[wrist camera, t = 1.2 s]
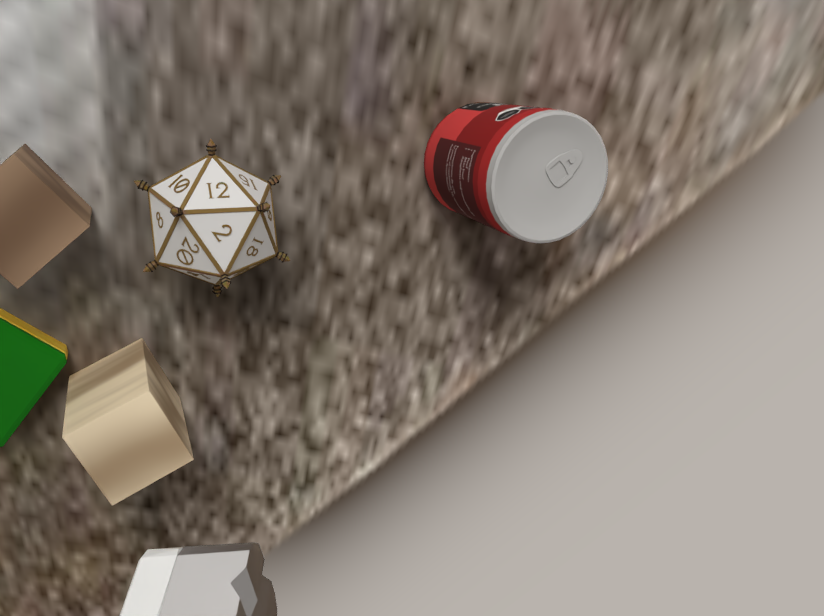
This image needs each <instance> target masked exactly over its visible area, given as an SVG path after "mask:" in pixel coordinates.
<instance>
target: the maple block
mask: <svg viewBox="0 0 824 616" xmlns="http://www.w3.org/2000/svg"><path fill="white" fill-rule="evenodd" d="M62 438H63V439H64V440H65V442H66V443H67V445H68V446H69V447H70V449H71V450H72V451H73V453H74V454H75V455H76V457H77V458H78V460H79V461H80V462H81V464H82V465H83V466H84V468H85V469H86V471H87V472H88V473H89V475H90V476H91V477H92V479H93V480H94V482H95V483H96V484H97V486H98V487H99V488H100V490H101V491H102V492H103V494H104V495H105V497H106V498H107V499H108V501H109V502H110V503H111V505H114V504H116V503H118V502H120V501H121V500H123V499H125V498H127V497H128V496H130V495H132V494H134V493H136V492H137V491H139V490H141V489H143V488H144V487H146V486H148V485H150V484H152V483H153V482H155V481H157V480H159V479H160V478H162V477H164V476H166V475H167V474H169V473H171V472H173V471H175V470H176V469H178V468H180V467H182V466H183V465H185V464H187V463H189V462H191V461H192V460H194V458H193V454H192V449H191V445H190V440H189V436H188V431H187V427H186V422H185V418H184V413H183V409H182V404H181V400H180V397H179V396H178V394H177V393H176V391H175V390H174V388H173V386H172V385H171V383H170V382H169V380H168V378H167V377H166V375H165V374H164V372H163V371H162V369H161V367H160V366H159V364H158V363H157V361H156V359H155V358H154V356H153V355H152V353H151V351H150V350H149V348H148V347H147V345H146V344H145V342H144V340H143V339H142V338H141V339H139V340H137V341H135V342H134V343H132V344H130V345H128V346H126V347H124V348H122V349H120V350H118V351H116V352H114V353H112V354H111V355H109V356H107V357H105V358H103V359H101V360H99V361H97V362H95V363H93V364H91V365H90V366H88V367H86V368H84V369H82V370H80V371H78V372H76V373H74V374H72V375H70V376H69V383H68V391H67V400H66V409H65V417H64V426H63V435H62Z"/></svg>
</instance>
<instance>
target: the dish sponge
mask: <svg viewBox="0 0 824 616" xmlns="http://www.w3.org/2000/svg"><path fill="white" fill-rule="evenodd" d="M67 356H68V350H67V346H66V345H65V344H63V343H62V342H60V341H58V340H56V339H55V338H53V337H51V336H49V335H47V334H46V333H44V332H42V331H40V330H39V329H37V328H35V327H33V326H31V325H30V324H28V323H26V322H24V321H23V320H21V319H19V318H17V317H15V316H14V315H12V314H10V313H8V312H7V311H5V310H3V309H1V308H0V447H2V446H4V444H5V443H6V442H7V441H8V439H9V438H10V437H11V435H12V434H13V433H14V431H15V430H16V429H17V427H18V426H19V425H20V423H21V422H22V421H23V419H24V418H25V417H26V416H27V414H28V413H29V412H30V410H31V409H32V408H33V406H34V405H35V404H36V402H37V401H38V400H39V398H40V397H41V396H42V394H43V393H44V392H45V390H46V389H47V388H48V387H49V385H50V384H51V383H52V381H53V380H54V379H55V377H56V376H57V375H58V373H59V372H60V371H61V369H62V368H63V367H64V365H65V364H66V363H67Z"/></svg>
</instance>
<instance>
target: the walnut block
mask: <svg viewBox="0 0 824 616" xmlns="http://www.w3.org/2000/svg"><path fill="white" fill-rule="evenodd" d="M91 209H92V208H91V207H90V206H89V205H88V204H87V203H86V202H85V201H84V200H83V199H82V198H81V197H80V196H79V195H78V194H77V193H76V192H75V191H74V190H73V189H72V188H71V187H70V186H69V185H68V184H66V183H65V182H64V181H63V180H62V179H61V178H60V177H59V176H58V175H57V174H56V173H55V172H54V171H53V170H52V169H51V168H50V167H49V166H48V165H47V164H46V163H45V162H44V161H43V160H42V159H41V158H40V157H39V156H37V155H36V154H35V153H34V152H33V151H32V150H31V149H30V148H29V147H28V146H27V145H26V144H24V145H23V146H22V147H21V148H19V149H18V150H17V151H16V152H15V153H14V154H12V155H11V156H10V157H9V158H8V159H6V160H5V161H4V162H3V163H2V164H1V165H0V274H1V275H2V276H3V277H4V278H5V279H7V280H8V281H9V282H10V283H11V284H12V285H14V286H15V287H16V288H17V289H18V288H20V287H21V286H22V285H23V284H24V283H25V282H26V281H28V280H29V279H30V278H31V277H32V276H33V275H34V274H36V273H37V272H38V271H39V270H40V269H41V268H42V267H44V266H45V265H46V264H47V263H48V262H49V261H50V260H52V259H53V258H54V257H55V256H56V255H57V254H59V253H60V252H61V251H62V250H63V249H64V248H65V247H67V246H68V245H69V244H70V243H71V242H72V241H73V240H75V239H76V238H77V237H78V236H79V235H80V234H81V233H83V232H84V231H85V230H86V229H87V228H88V227H89V226H90V219H91Z"/></svg>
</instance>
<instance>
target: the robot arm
mask: <svg viewBox="0 0 824 616" xmlns="http://www.w3.org/2000/svg"><path fill="white" fill-rule="evenodd" d="M264 560H265V559H264V557H263V554H262V551H261V548H260V545H259V543H239V544H222V545H205V546H188V547H178V548H163V549H148V550H147V551H146V552H145V553H144V555H143V556H142V557H141V559H140V560H139V562H138V565H137V568H136V570H135V573H134V576H133V579H132V582H131V585H130V587H129V590H128V593H127V596H126V599H125V602H124V604H123V607H122V610H121V613H120V616H277V606H276V598H275V592H274V589H273V585H272V582H271V581H270V580H269V579H267V578H266V577H264V576H263V575H262V571H263V566H264Z"/></svg>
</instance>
